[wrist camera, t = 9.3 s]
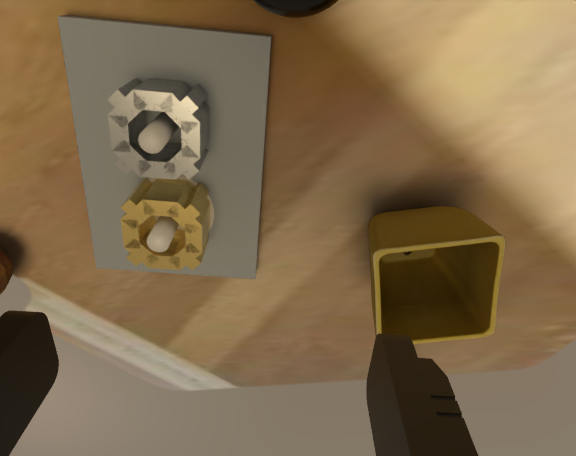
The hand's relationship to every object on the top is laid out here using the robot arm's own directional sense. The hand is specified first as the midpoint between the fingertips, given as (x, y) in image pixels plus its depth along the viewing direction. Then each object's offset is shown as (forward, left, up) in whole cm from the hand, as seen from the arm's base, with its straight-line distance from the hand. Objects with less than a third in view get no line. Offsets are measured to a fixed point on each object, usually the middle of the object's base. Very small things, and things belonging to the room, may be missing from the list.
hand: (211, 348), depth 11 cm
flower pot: (-13, +10, -25) cm, 30 cm away
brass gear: (+7, +9, -24) cm, 26 cm away
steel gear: (+7, +1, -24) cm, 24 cm away
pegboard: (+7, +5, -25) cm, 26 cm away
